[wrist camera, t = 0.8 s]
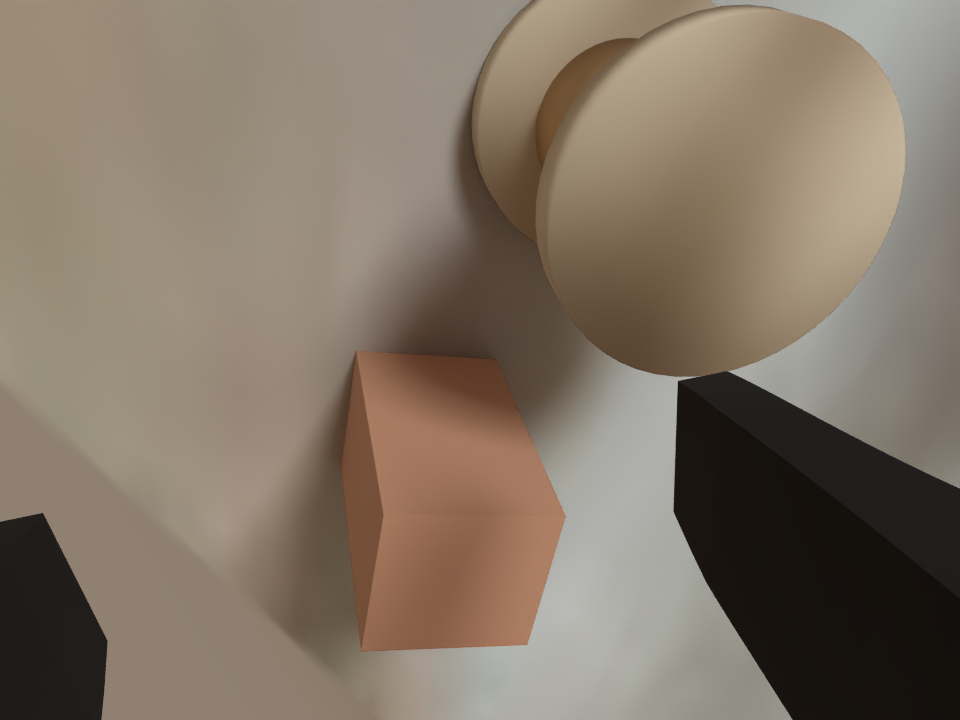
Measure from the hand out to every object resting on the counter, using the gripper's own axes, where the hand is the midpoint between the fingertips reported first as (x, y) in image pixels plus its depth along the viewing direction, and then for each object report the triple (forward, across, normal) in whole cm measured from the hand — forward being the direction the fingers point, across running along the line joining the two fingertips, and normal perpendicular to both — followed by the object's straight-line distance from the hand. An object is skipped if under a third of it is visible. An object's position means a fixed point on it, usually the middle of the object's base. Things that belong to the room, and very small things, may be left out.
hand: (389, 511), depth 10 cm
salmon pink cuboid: (+10, -1, +6) cm, 12 cm away
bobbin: (+10, -6, -1) cm, 12 cm away
